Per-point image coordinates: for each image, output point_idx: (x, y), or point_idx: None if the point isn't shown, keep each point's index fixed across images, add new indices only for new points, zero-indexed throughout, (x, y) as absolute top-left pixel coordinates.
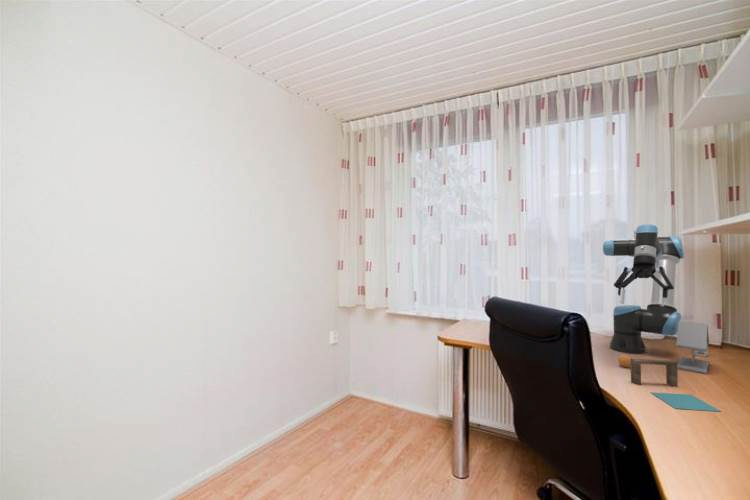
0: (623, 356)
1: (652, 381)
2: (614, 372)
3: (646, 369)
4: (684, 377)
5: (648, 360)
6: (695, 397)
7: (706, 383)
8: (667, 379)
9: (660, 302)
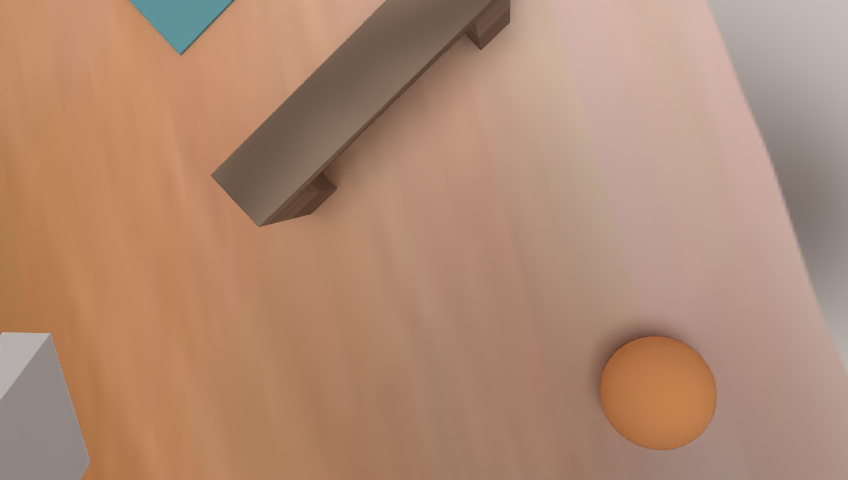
0: (671, 372)
1: (410, 155)
2: (662, 154)
3: (517, 437)
4: (291, 436)
5: (384, 44)
6: (150, 15)
7: (172, 402)
8: (321, 180)
9: (9, 358)
